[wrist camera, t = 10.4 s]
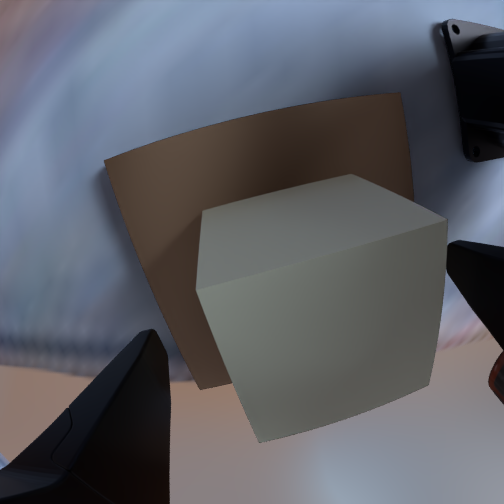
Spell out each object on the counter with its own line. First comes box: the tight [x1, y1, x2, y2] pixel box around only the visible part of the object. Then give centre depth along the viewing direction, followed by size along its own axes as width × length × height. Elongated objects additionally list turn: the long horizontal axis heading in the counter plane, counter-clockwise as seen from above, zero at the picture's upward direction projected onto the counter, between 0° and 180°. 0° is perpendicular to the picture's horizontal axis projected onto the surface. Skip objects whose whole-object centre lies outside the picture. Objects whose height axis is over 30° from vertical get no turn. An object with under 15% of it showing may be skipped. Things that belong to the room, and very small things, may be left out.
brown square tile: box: [104, 92, 414, 390], centre depth 12 cm, size 10×10×1 cm
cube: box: [196, 174, 448, 443], centre depth 9 cm, size 5×5×5 cm
